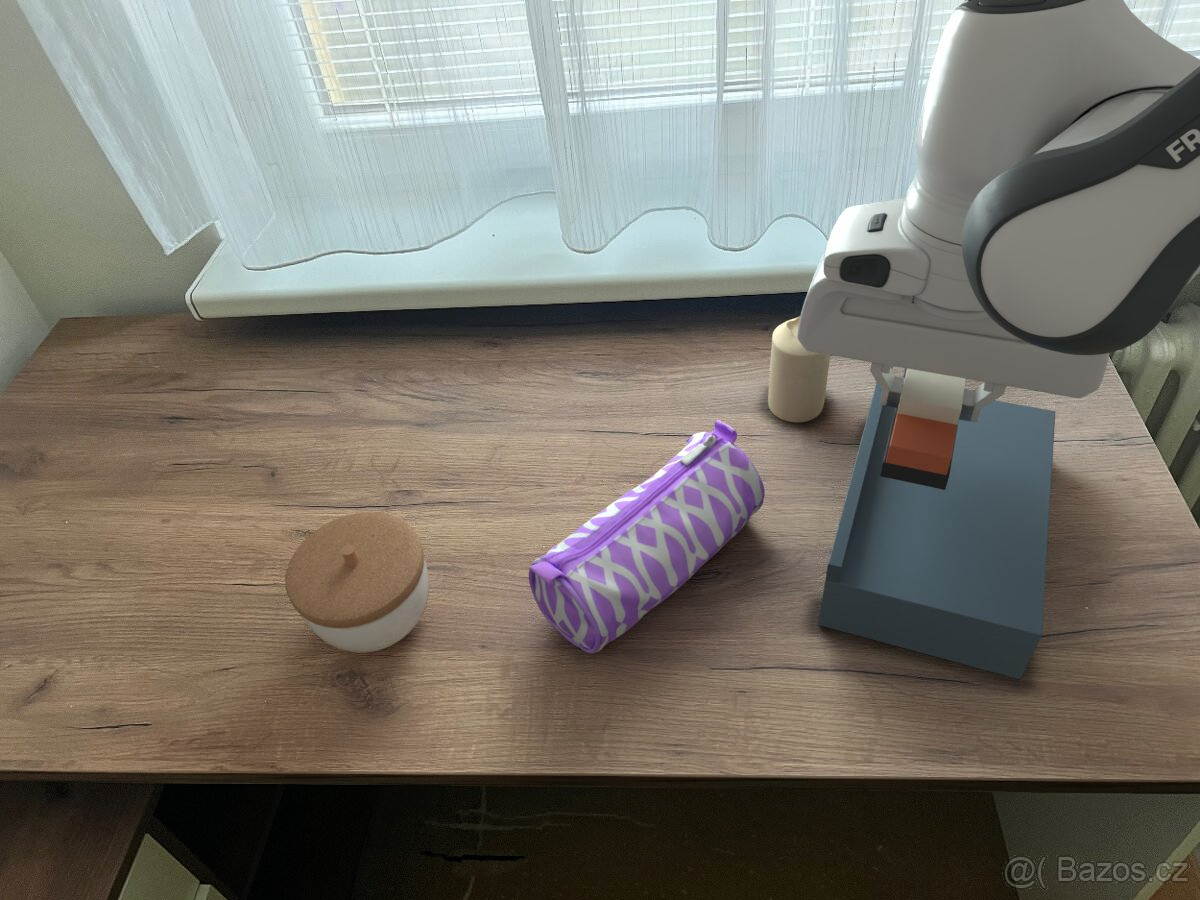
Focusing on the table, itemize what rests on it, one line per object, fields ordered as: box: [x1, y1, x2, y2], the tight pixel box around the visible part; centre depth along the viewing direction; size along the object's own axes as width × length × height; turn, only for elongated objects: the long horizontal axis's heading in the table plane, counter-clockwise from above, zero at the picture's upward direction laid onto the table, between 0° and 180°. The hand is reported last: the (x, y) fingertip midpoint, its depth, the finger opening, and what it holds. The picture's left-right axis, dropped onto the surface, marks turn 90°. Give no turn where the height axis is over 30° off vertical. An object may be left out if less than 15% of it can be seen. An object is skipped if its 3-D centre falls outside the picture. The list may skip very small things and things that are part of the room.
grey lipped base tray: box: [817, 366, 1056, 680], centre depth 72 cm, size 15×24×8 cm, turn 158°
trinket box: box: [284, 511, 430, 653], centre depth 70 cm, size 11×11×9 cm
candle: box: [767, 315, 831, 423], centre depth 84 cm, size 6×6×10 cm
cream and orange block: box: [880, 368, 967, 490], centre depth 66 cm, size 12×5×5 cm, turn 158°
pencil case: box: [528, 419, 766, 655], centre depth 72 cm, size 22×9×10 cm, turn 136°
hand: (927, 408), depth 66 cm, fingers closed on cream and orange block, 4 cm apart
